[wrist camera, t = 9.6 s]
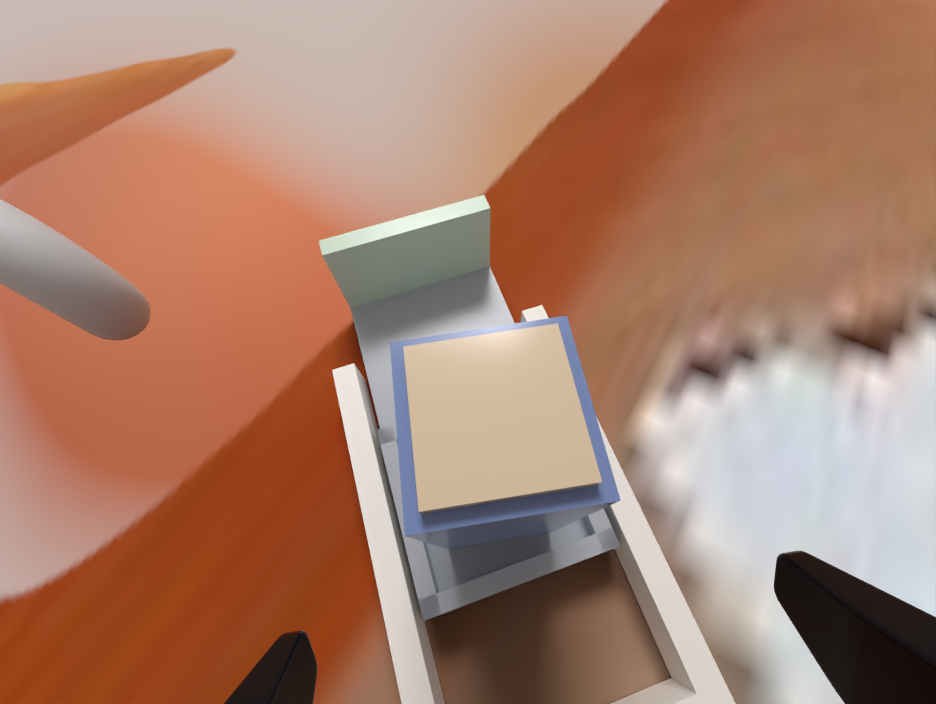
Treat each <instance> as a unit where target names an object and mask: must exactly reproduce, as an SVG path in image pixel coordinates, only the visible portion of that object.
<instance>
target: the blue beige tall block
mask: <svg viewBox="0 0 936 704" xmlns="http://www.w3.org/2000/svg"><path fill="white" fill-rule="evenodd" d="M390 352H391V365H392V378H393V391H394V404H395V417H396V429H397V442H398V455H399V468H400V481H401V494H402V506H403V519H404V532H405V536H406V537H409V538H413V539H416V540H419V541H422V542H426V543H429V544H432V545H435V546H439V547H442V548H445V549H448V550H449V549H455V548H461V547H467V546H473V545H479V544H486V543H492V542H498V541H504V540H510V539H516V538H522V537H528V536H534V535H540V534H546V533H550V532H553V531H555V530H557V529H559V528H561V527H564V526H566V525H568V524H570V523H572V522H575V521H577V520H579V519H581V518H584V517H586V516H588V515H590V514H592V513H595V512H597V511H599V510H601V509H603V508H606V507H608V506H610V505H612V504H614V503H617V502H619V501H621V500H620V496H619V493H618V489H617V486H616V483H615V479H614V476H613V472H612V469H611V466H610V462H609V459H608V455H607V452H606V448H605V445H604V442H603V438H602V435H601V431H600V428H599V424H598V421H597V418H596V414H595V411H594V407H593V404H592V401H591V397H590V394H589V390H588V387H587V383H586V380H585V377H584V373H583V370H582V366H581V363H580V360H579V356H578V353H577V349H576V346H575V342H574V339H573V336H572V332H571V329H570V325H569V322H568V318H567V316H562V317H555V318H549V319H542V320H535V321H529V322H522V323H515V324H509V325H502V326H495V327H489V328H482V329H475V330H469V331H462V332H455V333H449V334H442V335H435V336H429V337H422V338H415V339H409V340H402V341H395V342H390Z"/></svg>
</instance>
